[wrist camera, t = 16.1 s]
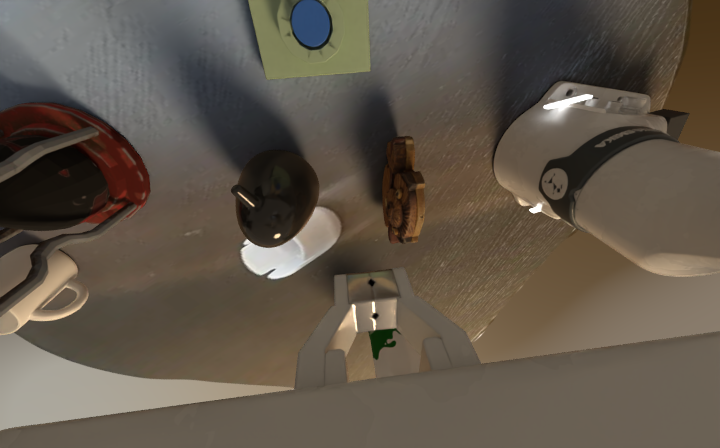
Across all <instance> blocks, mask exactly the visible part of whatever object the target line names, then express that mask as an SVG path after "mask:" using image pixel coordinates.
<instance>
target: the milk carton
mask: <svg viewBox="0 0 720 448" xmlns="http://www.w3.org/2000/svg"><path fill="white" fill-rule="evenodd" d="M368 332H369V336H370V340H371V346H372V353H373V359H374V366H375V373H376V378H382V377H389V376H397V375H404V374H411V373H418V372H419V367H420V359H421V355H420V354H419V353H418V352H417V351H416V350H415V349H414V348H413V347H412V346H411V344H410V343H409V342H408V341H407V340H406V339H405V338H404V337H403V336H402V334H401V333H400V332H399V331H398V330H397V328H393V329H383V330H374V331H368Z"/></svg>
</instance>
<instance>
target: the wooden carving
mask: <svg viewBox="0 0 720 448" xmlns="http://www.w3.org/2000/svg"><path fill="white" fill-rule="evenodd" d="M386 153H387V160H388V164H387V165H386V166H385V170H384V175H383V183H382V196H383V213H384V220H385V225H386V227H388V236H389V240H390V243H392V244H394V243H398V242H401V243H403V244H405V243H409V242H413V243H414V242H417V241H418V235H419V233H420V231H421V228H422V224H423V221H424V212H425V199H424V186H425V182H424V179H423V177H422V174H421V173H420V171H418V172H414V171H413V170H414V161H415V149H414V141H413V138H412V137H410V136H405V137H395V138H393V139H392V141H391V142H388V143H387V151H386Z"/></svg>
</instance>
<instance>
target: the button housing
mask: <svg viewBox="0 0 720 448" xmlns="http://www.w3.org/2000/svg"><path fill="white" fill-rule="evenodd" d="M300 1H302V0H248V3H249V7H250V11H251V15H252V20H253V24H254V28H255V33H256V37H257V41H258V46H259V50H260V54H261V59H262V63H263V67H264V72H265V76H266V79H267V80H269V79H281V78H293V77H306V76H318V75H330V74H342V73H355V72H367V71H370V44H369V17H368V0H315V1H317V2H319V3H320V4H321V5H322V6H323V7H324V8H325V10H326V12H327V14H328V17H329V21H330V30H329V35H328V37H327V39H326V40H325V42H324V43H323V44H321V45H319V46H316V47H311V46H307V45H305V44H303V43H302V42H301V41H300V40H299V39H298V38H297V37H296V35H295V33H294V31H293V28H292V13H293V10H294V8H295V6H296V5H297V4H298V3H299V2H300Z"/></svg>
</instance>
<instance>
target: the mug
mask: <svg viewBox="0 0 720 448" xmlns="http://www.w3.org/2000/svg"><path fill="white" fill-rule="evenodd" d="M37 246H38V245H36V244H31V245H24V246H20V247H18V248H16V249H14V250H12V251H10V252H9V253H7V254H5V255H4V256H2V257H1V258H0V297H2V296H3V295H4V294H6V293H7V292H9V291H10V290H11V289H13V288H14V287H15V286H17V285H18V284H19V283H21V282H22V281H23V280H25V279H26V277H27V275H28V273H29V271H30V269H31V267H32V265H31V259H30V255H31V253H32V252H33V251H34V250H35V248H36V247H37ZM48 272H49V273H48V275H47V276H46V278H45V280H44V282H43V284H41V285H40V286H39V287H38V288H36V289H35V290H34V291H33V292H31V293H30V294H29V295H28V296H26V297H25V298H24V299H23V300H21V301H20V302H19V303H18V304H16V305H15V306H14V307H12V308H11V309H10V310H9V311H7V312H6V313H5V314H4V315H2V316H1V317H0V335H4V334H10V333H13V332H15V331H17V330H18V329H19V328H20V327H21V326H23V325H24V324H25V323H26V322H27V321H28V320H35V321H50V320H56V319H60V318H63V317H66V316H68V315H70V314H72V313H74V312H75V311H77V310H78V309H79V308H81V307H82V306H83V304H84V303H85V302H86V300H87V299H88V293H89V292H88V289H87V287H86V286H85V285H84V284H83V283H81V282H79V281H77V280H74V279H75V277H76V276H77V273H78V269H77V265H76V264H75V262H74V261H73V260H72V259H71V258H70V257H69V256H68V255H66V254H65V253H63V252H61V251H59V250H56V251H55V253H54V254H53V255H52V256H51V257H50V258H49V260H48ZM65 287H66V288H70V289H72V290H74V291H75V292H76V293H77V297H76V299H75V300H74V301H73V302H72V303H71V304H70V305H68V306H66V307H64V308H62V309H59V310H42V308H43V307H44V306H45V305H46V304H47V303H49V302H50V301H51V300H52V299H53V298H54V297H55V296H56V295H57V294H59V293H60V292H61V291H62V290H63V289H64V288H65Z"/></svg>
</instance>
